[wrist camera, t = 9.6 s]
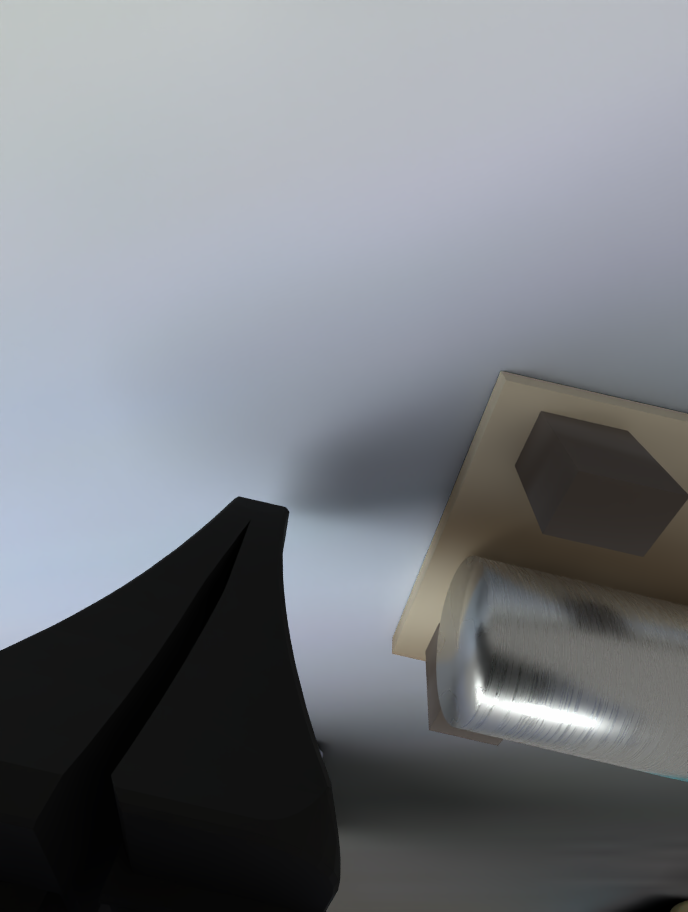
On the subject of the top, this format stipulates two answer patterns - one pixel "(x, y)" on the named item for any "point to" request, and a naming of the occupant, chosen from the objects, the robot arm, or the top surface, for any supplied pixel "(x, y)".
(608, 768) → the top surface
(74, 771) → the robot arm
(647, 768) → the tube
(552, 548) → the collar board
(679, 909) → the toy train
